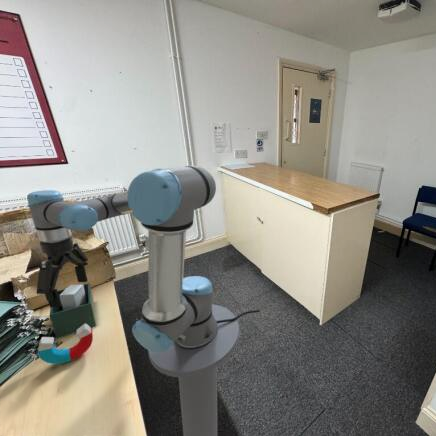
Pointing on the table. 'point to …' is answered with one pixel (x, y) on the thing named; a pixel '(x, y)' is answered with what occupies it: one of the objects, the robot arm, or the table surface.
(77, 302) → the cosmetic box
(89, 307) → the bin
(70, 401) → the table surface
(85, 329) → the magnet
